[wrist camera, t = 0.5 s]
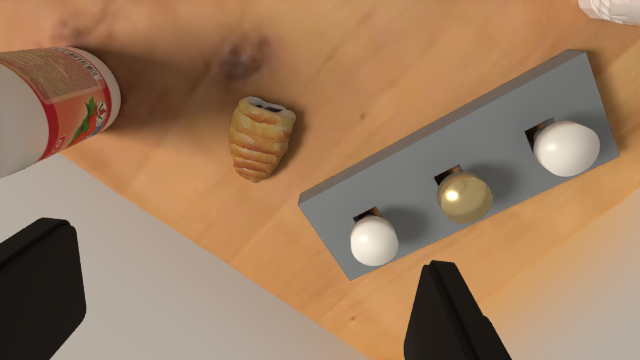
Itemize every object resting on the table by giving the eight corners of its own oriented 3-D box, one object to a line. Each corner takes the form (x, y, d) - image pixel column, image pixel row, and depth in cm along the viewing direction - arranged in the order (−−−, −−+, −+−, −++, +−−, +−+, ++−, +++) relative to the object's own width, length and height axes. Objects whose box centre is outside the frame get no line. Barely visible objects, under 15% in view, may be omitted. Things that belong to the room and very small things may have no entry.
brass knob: (422, 174, 41) (433, 193, 36) (464, 152, 40) (481, 170, 35) (440, 208, 43) (453, 231, 38) (481, 189, 41) (500, 210, 37)
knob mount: (299, 193, 46) (297, 205, 43) (567, 49, 38) (585, 51, 36) (349, 266, 49) (350, 281, 47) (601, 147, 42) (619, 156, 40)
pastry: (279, 183, 45) (274, 196, 42) (224, 167, 45) (214, 180, 42) (299, 108, 42) (295, 116, 38) (239, 90, 41) (230, 97, 38)
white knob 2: (512, 128, 39) (536, 142, 34) (559, 104, 38) (591, 116, 33) (528, 166, 40) (553, 185, 36) (574, 144, 39) (606, 160, 35)
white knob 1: (341, 215, 43) (342, 238, 39) (379, 196, 42) (384, 217, 38) (361, 246, 45) (365, 272, 40) (398, 229, 44) (406, 253, 39)
